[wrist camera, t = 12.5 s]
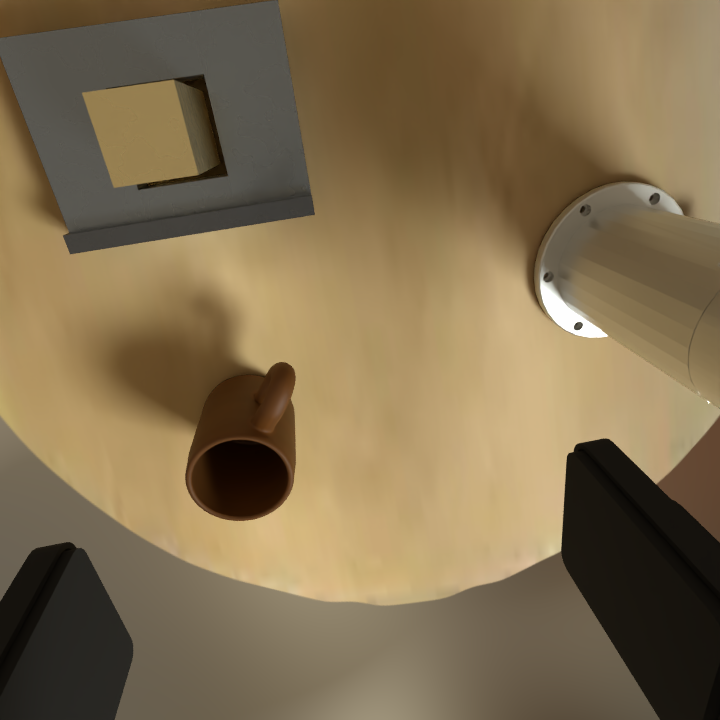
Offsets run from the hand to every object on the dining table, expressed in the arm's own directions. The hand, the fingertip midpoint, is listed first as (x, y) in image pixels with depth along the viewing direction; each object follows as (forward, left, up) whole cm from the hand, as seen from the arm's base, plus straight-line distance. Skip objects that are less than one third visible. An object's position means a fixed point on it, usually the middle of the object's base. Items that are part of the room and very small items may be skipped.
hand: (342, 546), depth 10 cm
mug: (+6, +12, -31) cm, 33 cm away
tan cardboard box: (+7, -8, -30) cm, 32 cm away
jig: (+7, -8, -30) cm, 32 cm away
